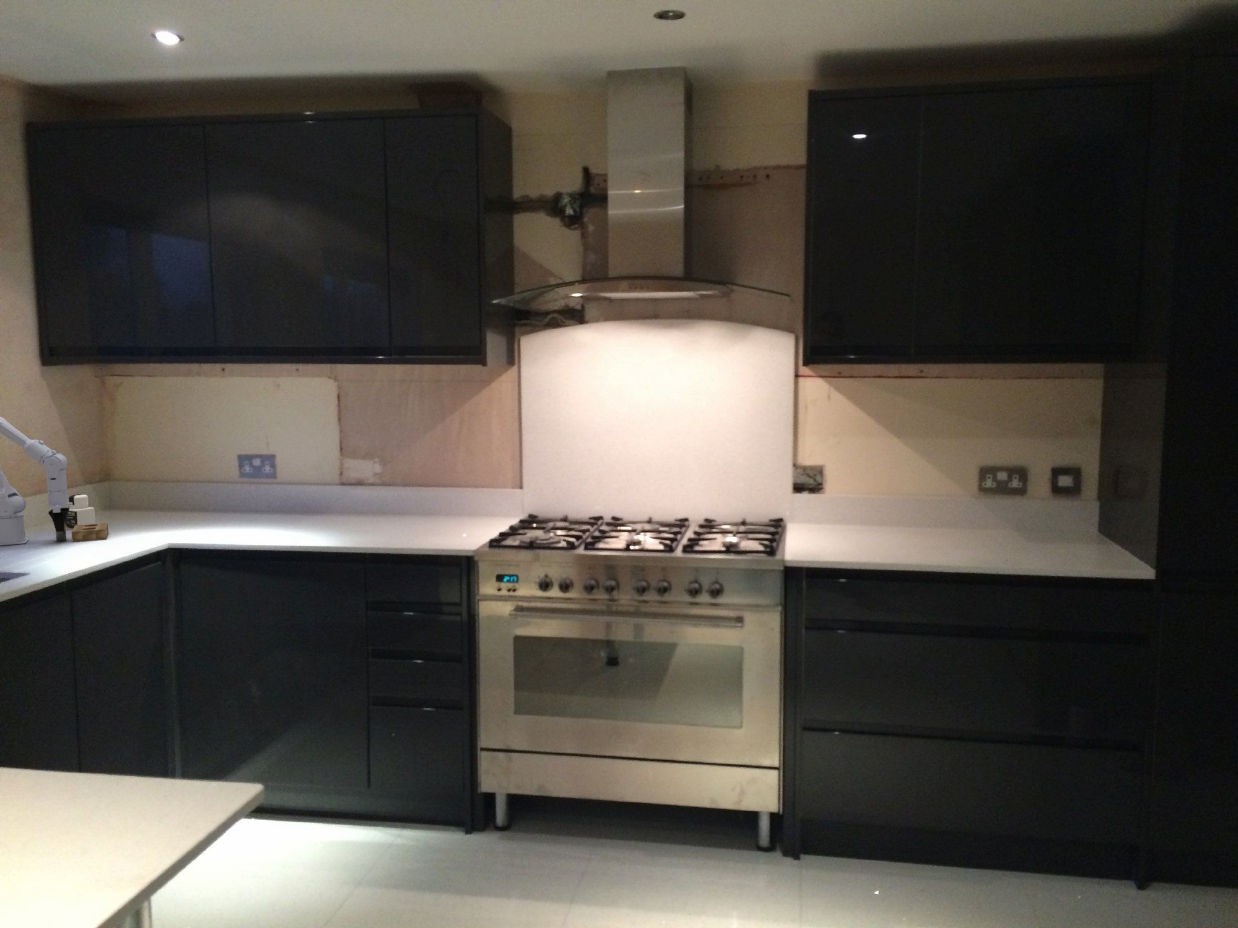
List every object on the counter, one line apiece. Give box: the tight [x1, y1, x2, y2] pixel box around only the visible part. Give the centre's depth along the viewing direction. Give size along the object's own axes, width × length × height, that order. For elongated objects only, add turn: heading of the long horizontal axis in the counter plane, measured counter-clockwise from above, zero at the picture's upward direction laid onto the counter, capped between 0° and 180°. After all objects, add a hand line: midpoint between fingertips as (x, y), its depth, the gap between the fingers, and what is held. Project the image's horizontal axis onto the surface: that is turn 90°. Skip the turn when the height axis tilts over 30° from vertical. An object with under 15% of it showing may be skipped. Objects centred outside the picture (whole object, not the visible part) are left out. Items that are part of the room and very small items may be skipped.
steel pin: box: [54, 527, 67, 542], centre depth 336 cm, size 3×3×8 cm
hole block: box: [71, 522, 109, 543], centre depth 342 cm, size 10×14×4 cm
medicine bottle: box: [65, 493, 97, 530], centre depth 360 cm, size 7×7×12 cm
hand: (60, 530), depth 336 cm, fingers closed on steel pin, 3 cm apart
